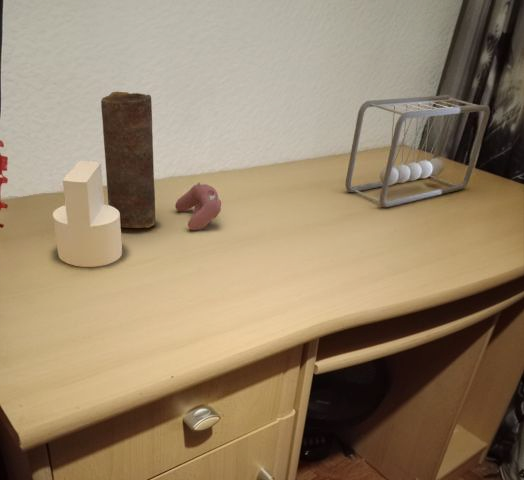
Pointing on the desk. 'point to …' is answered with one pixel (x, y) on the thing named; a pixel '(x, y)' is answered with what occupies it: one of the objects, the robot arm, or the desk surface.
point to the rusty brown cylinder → (129, 157)
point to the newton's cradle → (423, 167)
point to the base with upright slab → (87, 220)
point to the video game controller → (200, 205)
